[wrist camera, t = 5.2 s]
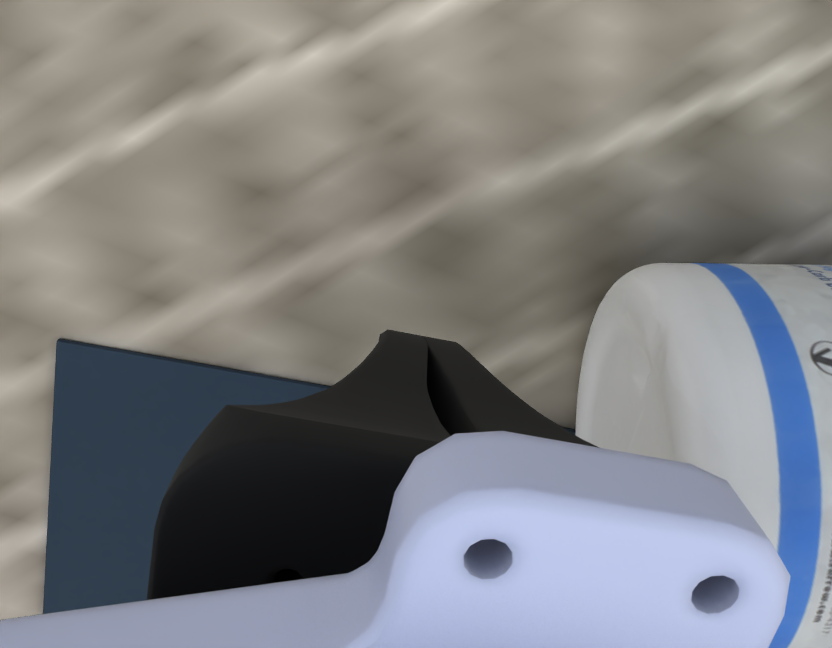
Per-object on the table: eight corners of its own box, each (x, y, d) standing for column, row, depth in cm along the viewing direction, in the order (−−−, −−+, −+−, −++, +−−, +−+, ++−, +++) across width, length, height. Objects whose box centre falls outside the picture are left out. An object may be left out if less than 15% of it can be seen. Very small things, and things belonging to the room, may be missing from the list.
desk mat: (595, 433, 24) (597, 436, 24) (448, 864, 31) (448, 869, 31) (59, 338, 22) (56, 341, 22) (34, 818, 29) (32, 823, 29)
